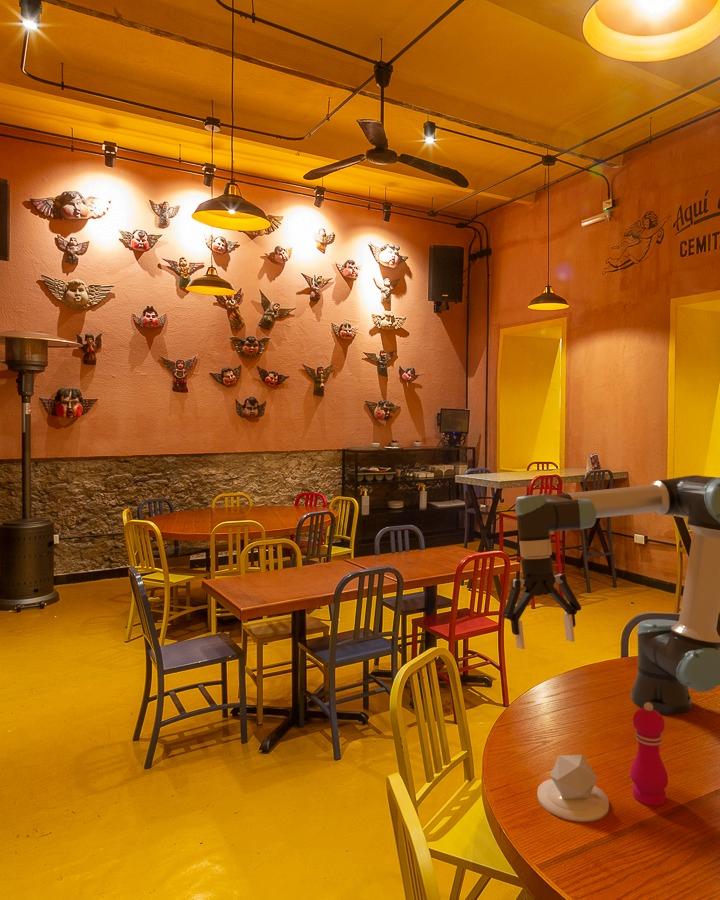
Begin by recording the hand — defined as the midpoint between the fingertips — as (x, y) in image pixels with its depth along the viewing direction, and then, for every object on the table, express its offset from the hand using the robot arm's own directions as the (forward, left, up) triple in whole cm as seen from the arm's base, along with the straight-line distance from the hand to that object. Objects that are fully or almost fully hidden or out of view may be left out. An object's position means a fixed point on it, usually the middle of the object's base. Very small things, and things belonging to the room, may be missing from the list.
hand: (545, 644), depth 153 cm
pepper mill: (-8, +26, -25) cm, 37 cm away
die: (+7, +23, -23) cm, 34 cm away
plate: (+8, +23, -24) cm, 35 cm away
